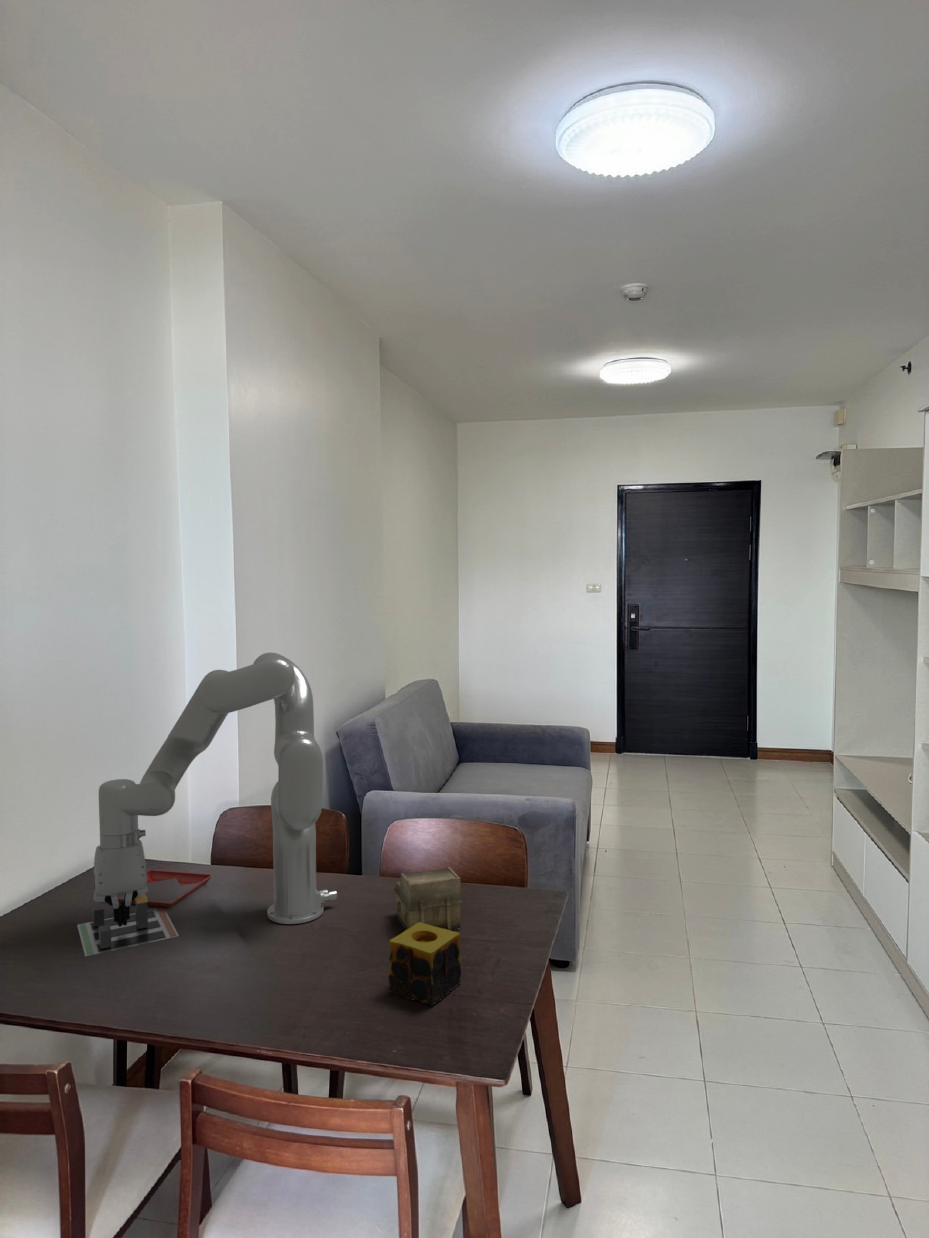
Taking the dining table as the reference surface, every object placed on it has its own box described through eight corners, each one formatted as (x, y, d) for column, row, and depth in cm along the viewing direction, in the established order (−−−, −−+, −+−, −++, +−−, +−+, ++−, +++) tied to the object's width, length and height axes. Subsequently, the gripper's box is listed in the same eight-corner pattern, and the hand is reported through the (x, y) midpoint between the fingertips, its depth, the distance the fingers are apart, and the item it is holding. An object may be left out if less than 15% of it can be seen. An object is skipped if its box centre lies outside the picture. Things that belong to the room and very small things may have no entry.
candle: (432, 1008, 147) (432, 954, 147) (387, 993, 152) (386, 940, 152) (462, 984, 156) (462, 932, 155) (418, 970, 161) (418, 920, 160)
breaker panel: (164, 913, 188) (163, 906, 188) (179, 942, 173) (178, 935, 173) (77, 931, 179) (77, 924, 179) (85, 963, 164) (85, 955, 164)
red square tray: (102, 909, 191) (102, 895, 191) (149, 881, 209) (149, 868, 209) (171, 917, 187) (171, 902, 187) (213, 887, 205) (213, 874, 204)
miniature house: (473, 931, 179) (472, 879, 178) (410, 941, 174) (410, 888, 173) (450, 904, 193) (450, 856, 192) (392, 913, 188) (392, 864, 187)
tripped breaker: (145, 921, 179) (145, 893, 179) (148, 926, 177) (147, 898, 176) (135, 923, 178) (134, 895, 178) (137, 929, 176) (137, 900, 175)
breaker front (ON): (109, 940, 170) (109, 924, 170) (111, 946, 168) (111, 929, 167) (99, 942, 169) (98, 926, 169) (100, 948, 167) (100, 931, 166)
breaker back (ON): (102, 919, 180) (102, 903, 180) (104, 924, 178) (103, 908, 178) (92, 921, 179) (92, 905, 179) (94, 926, 177) (93, 910, 177)
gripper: (153, 828, 181) (155, 909, 182) (78, 839, 174) (81, 924, 175) (159, 838, 175) (162, 922, 176) (82, 850, 167) (85, 938, 168)
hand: (121, 923), depth 175 cm, fingers closed
